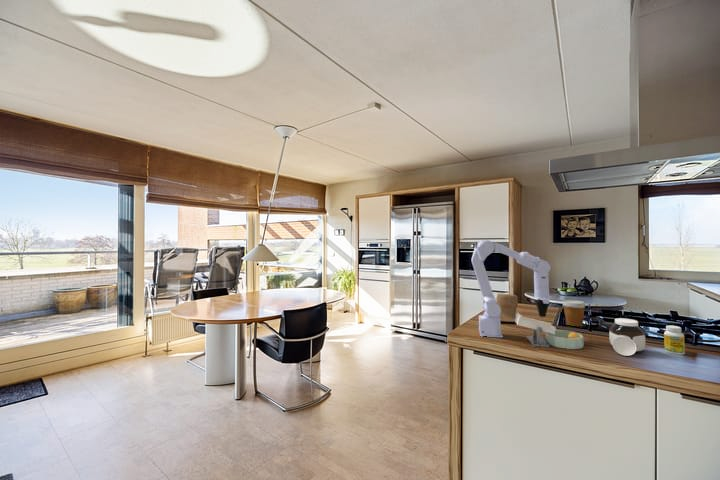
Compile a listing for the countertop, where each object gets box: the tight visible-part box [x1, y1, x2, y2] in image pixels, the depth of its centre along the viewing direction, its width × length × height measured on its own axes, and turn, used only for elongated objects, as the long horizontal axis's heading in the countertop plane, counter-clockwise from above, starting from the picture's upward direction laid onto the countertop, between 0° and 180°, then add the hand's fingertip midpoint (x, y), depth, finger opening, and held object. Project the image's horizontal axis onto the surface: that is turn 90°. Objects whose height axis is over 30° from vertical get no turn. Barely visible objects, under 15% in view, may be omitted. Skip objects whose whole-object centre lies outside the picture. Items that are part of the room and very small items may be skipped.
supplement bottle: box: [663, 324, 686, 356], centre depth 115 cm, size 5×5×10 cm
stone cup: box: [495, 293, 519, 323], centre depth 165 cm, size 15×12×15 cm
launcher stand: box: [526, 327, 551, 348], centre depth 131 cm, size 6×12×8 cm, turn 163°
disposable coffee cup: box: [561, 299, 586, 327], centre depth 152 cm, size 10×10×12 cm
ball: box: [568, 331, 579, 338], centre depth 127 cm, size 4×4×4 cm
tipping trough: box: [514, 312, 557, 334], centre depth 135 cm, size 14×15×4 cm
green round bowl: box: [545, 329, 585, 350], centre depth 128 cm, size 13×13×4 cm
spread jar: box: [608, 317, 646, 357], centre depth 117 cm, size 12×11×12 cm
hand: (542, 316), depth 138 cm, fingers closed
